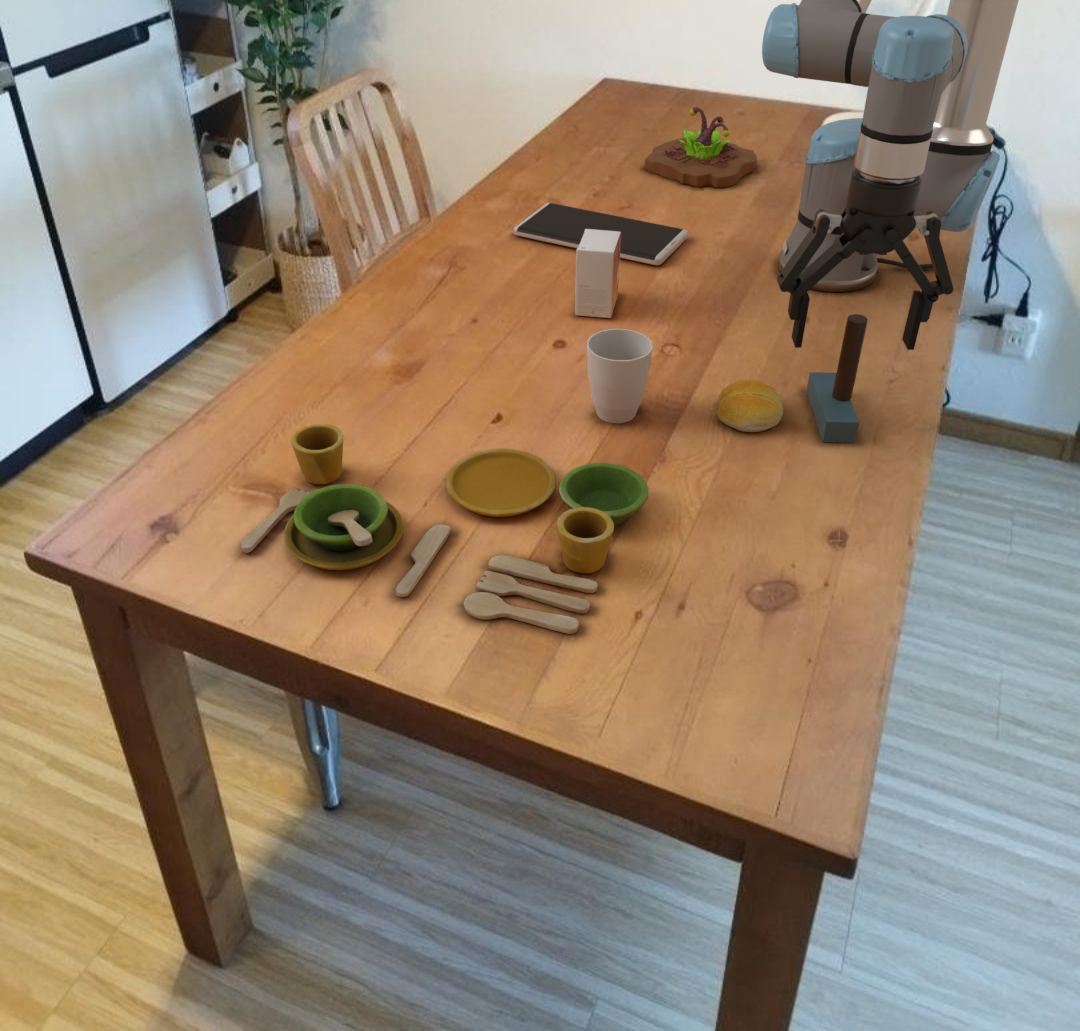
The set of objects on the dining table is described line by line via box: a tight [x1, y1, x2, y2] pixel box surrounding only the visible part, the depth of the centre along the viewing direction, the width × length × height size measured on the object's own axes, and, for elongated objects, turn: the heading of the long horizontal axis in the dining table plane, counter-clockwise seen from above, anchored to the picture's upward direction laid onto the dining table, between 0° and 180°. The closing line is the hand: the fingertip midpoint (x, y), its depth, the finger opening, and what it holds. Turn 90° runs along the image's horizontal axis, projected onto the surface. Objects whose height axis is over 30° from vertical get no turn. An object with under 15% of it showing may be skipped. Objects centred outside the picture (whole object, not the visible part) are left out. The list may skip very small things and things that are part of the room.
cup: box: [586, 328, 653, 424], centre depth 135 cm, size 8×8×10 cm
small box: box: [574, 229, 621, 319], centre depth 159 cm, size 8×6×10 cm
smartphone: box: [513, 202, 689, 266], centre depth 181 cm, size 13×27×2 cm, turn 63°
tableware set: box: [241, 423, 650, 635], centre depth 119 cm, size 41×28×6 cm
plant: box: [644, 106, 757, 189], centre depth 205 cm, size 20×20×11 cm
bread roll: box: [716, 378, 784, 433], centre depth 137 cm, size 8×9×4 cm
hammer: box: [806, 313, 869, 444], centre depth 134 cm, size 4×12×14 cm, turn 179°
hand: (852, 343), depth 131 cm, fingers open, 13 cm apart
